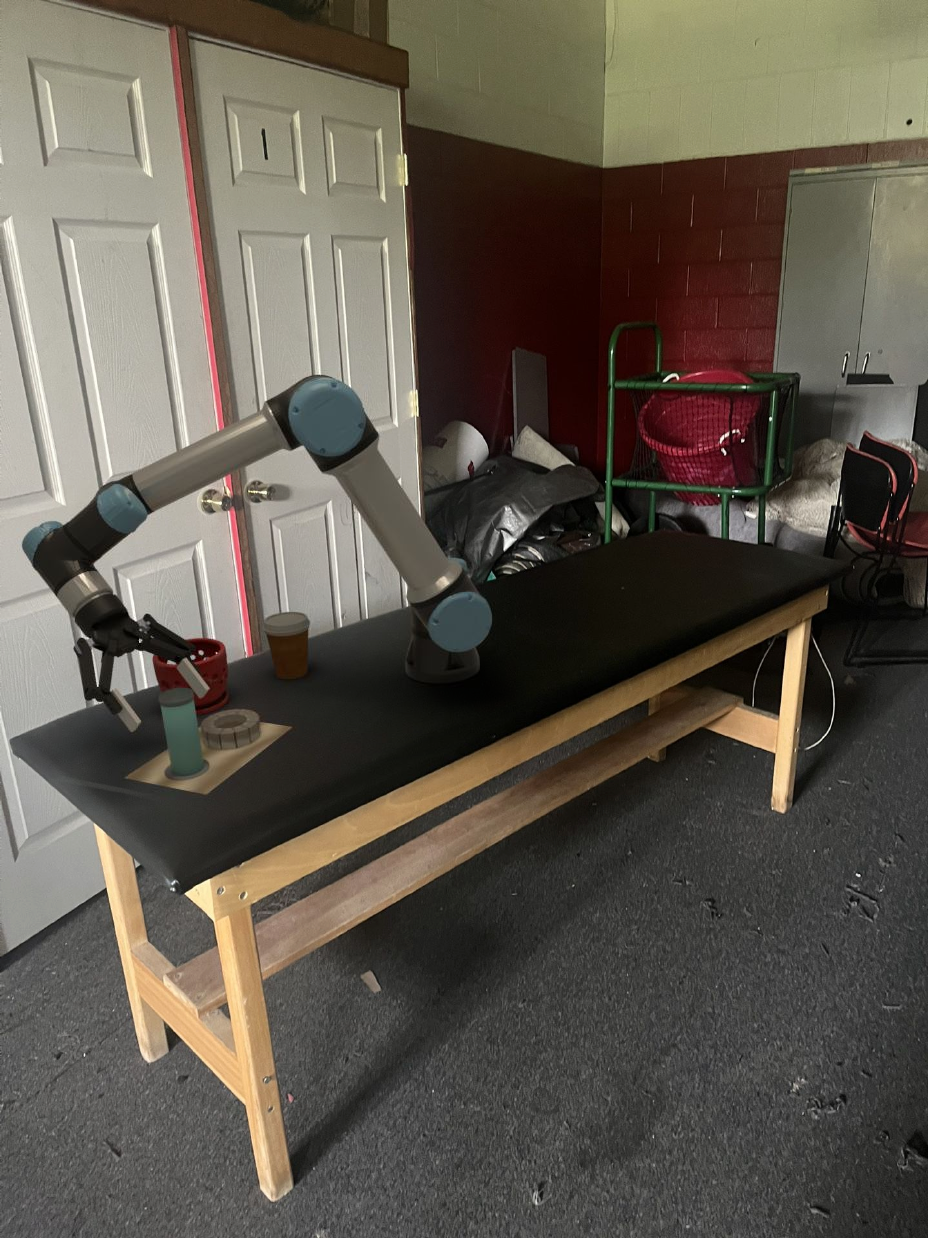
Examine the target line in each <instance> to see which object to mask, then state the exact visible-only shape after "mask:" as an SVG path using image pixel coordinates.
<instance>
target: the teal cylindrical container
mask: <svg viewBox="0 0 928 1238" xmlns="http://www.w3.org/2000/svg"><path fill="white" fill-rule="evenodd" d="M158 703H159V705H160V710H161V715H162V721H163V727H164V728H163V729H164V732H165V738H166V746H167V749H168V751H169V757H170V763H171V769H172V773H173V774H174V775H177V776H189V775H193V774H196V773H198V772H200V771H201V770H202V769H203V768H204V761H203V755H202V749H201V742H200V736H199V730H198V728H199V725H198V718H197V715H196V711H195V705H194V694H193V690H192V689H189V688H175V689H170V690H167V691H165V692H163V693H162V692H161V693H160V694H159V695H158Z"/></svg>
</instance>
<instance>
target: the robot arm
mask: <svg viewBox="0 0 928 1238" xmlns="http://www.w3.org/2000/svg"><path fill="white" fill-rule="evenodd" d="M363 405H364V404H363V402H362V400H361V398H360V397H359V395H358V394H357V392H356V391H355V390H354V389H353V388H352V387H350V386H349V385H348V384H346V383H345V382H343V381H341V380H339V379H336V378H335V377H332V376H329V375H326V374H310V375H309V376H306V377H303V378H301V379H300V380H299V381H297V382H295V383H294V384H292V385H291V386H290V387H288V388H287V389H285V390H284V391H281V392H280V393H278V394H277V395H275V396H273V397H270V398H269V399H267V400H265V401H264V402H263V405H262V408H261V410H258V411H257V412H254V413H252V414H250V415H248V416H246V417H244V418H242V419H240V420H238V421H236V422H234V423H232V424H230V425H227V426H226V427H223V428H221V429H220V430H218V431H215V432H214V433H211V434H209V435H208V436H205V437H203V438H201V439H199V440H197V441H195V442H193V443H191V444H188V445H187V446H185V447H182V448H181V449H179V450H177V451H175V452H173V453H170V454H169V455H167V456H164V457H162V458H161V459H159V460H157V461H154V462H152V463H150V464H149V465H146V466H144V467H143V468H140V469H138V470H137V471H134V472H132V473H130V474H128V475H126V476H123V478H120V479H118V480H112V481H109V482H107V483H105V484H104V485H102V486H101V487H100V488H99V489H98V490H97V491H96V492H95V495H94V497H93V498H92V500H90V501H89V502H88V504H87V505H86V506H85V507H84V508H83V509H82V510H80V511H79V512H78V513H77V514H76V515H74V517H72V518H71V519H70V520H69V521H67V522H66V523H64V524H62V522H60V521H57V520H49V521H45V522H42V523H41V524H39V525H38V526H34V527H33V528H31V529H30V530H29V531H28V532H27V533H26V534H25V536H24V538H23V540H22V542H21V548H22V549H21V550H22V551H23V553H24V554H25V556H26V558H27V559H28V561H29V562H30V564H31V567H32V568H33V569H34V570H35V571H36V573H38V575H39V576H40V577H41V579H42V580H43V581H44V583H45V584H46V585H47V586H48V588H49V589H50V590H51V592H53V595H55V597H56V599H57V600H59V601H58V602H60V603H61V605H62V606H63V608H64V609H65V611H66V612H67V613H68V614H69V615H70V617H71V618H73V619H74V623H75V624H76V626H77V627H78V628H79V630H80V631H81V632H82V634H83V635H84V636H85V637H86V638H85V637H79V638H78V639H77V640H76V641H75V642H76V643H75V644H74V646H73V648H72V649H73V651H74V653H75V655H76V657H77V658H78V661H79V662H78V664H79V668H80V669H79V670H80V675H81V684H82V691H83V696H84V697H83V698H84V699H85V701H88V702H90V701H92V700H95V701H96V702H97V703H103V704H104V705H105V707H106V708H107V709H108V711H109V712H110V713H111V714H112V715H113V716H115V715H118V716H119V718H120V720H121V721H122V722H123V723H124V724H125V726H126V728H127V729H128V730H129V731H130V733H132V732H135V731H136V730H137V728H138V727H139V726H140V724H141V723H142V720H141V719H140V718H139V716H138V715H137V714H136V712H135V711H134V709H133V708H132V706H131V705H130V704H129V703H128V701H127V699H125V698H124V696H123V695H122V693H121V692H120V691H119V690H118V688H117V687H116V688H114V689H112V690H111V687H112V679H113V670H114V662H115V658H120V657H123V656H124V655H125V654H130V653H133V652H134V651H139V652H145V653H149V654H152V655H157V656H159V657H162V658H164V659H167V660H168V661H170V662H173V663H175V664H176V663H177V664H179V665H178V667H177V669H178V671H179V672H180V673H181V675H182V676H183V677H184V679H185V680H186V681H187V682H188V684H189V685H190V686H191V688H192V689H193V690H194V692H195V693H196V694H197V696H198V697H199V698H202V697H204V695H205V694H206V693H207V692H208V690H209V689H210V688H209V687H208V685H207V684H206V683H205V682H204V680H203V679H202V678H201V676H200V675H199V674H200V670H199V668H198V667H197V666H196V664H195V663H194V662H193V659H192V658H191V656H193V655H192V653H193V652H194V651H195V649H196V647H195V646H194V645H193V644H191V643H190V642H188V641H187V640H186V638H183V637H182V636H180V635H179V634H177V633H175V632H174V631H172V630H170V629H169V628H167V627H166V626H164V625H163V624H161V623H159V622H158V621H157V620H156V619H155V618H154V617H153V616H152V615H151V614H150V613H145V614H144V615H143V616H142V618H139V619H138V620H134V619H133V618H132V617H131V615H130V614H129V613H130V612H129V611H128V608H126V606H125V604H124V603H123V602H122V600H121V599H120V598H119V597H118V595H116V594H115V593H114V590H113V588H112V587H111V586H110V585H109V583H108V582H107V580H106V579H105V578H104V577H103V576H102V574H101V573H100V572H99V570H98V569H97V568H96V566H95V565H94V564H95V563H96V562H97V561H99V560H101V558H103V556H104V555H106V554H107V553H108V552H109V551H111V550H112V549H113V548H115V547H116V546H117V545H118V544H119V543H121V542H122V541H123V540H124V539H125V538H127V537H128V536H130V535H131V534H133V533H135V532H136V531H137V529H138V528H139V527H140V526H141V525H142V524H143V523H144V522H145V521H146V520H147V519H148V516H150V514H153V513H155V512H156V511H158V510H160V509H162V508H164V507H167V506H168V505H171V504H173V503H175V502H177V501H179V500H182V499H183V498H185V497H187V496H189V495H191V494H193V493H194V492H198V491H199V490H201V489H204V488H206V487H207V486H209V485H211V484H213V483H215V482H218V481H220V480H221V479H224V478H226V477H228V476H230V475H232V474H234V473H237V471H241V470H242V469H244V468H246V467H248V466H250V465H252V464H254V463H256V462H258V461H261V460H263V459H264V458H265V459H266V457H269V456H271V455H273V454H274V453H275V454H276V453H277V452H279V451H281V450H285V451H288V452H292V451H294V450H297V449H298V448H300V447H302V446H303V447H304V449H305V450H306V451H307V453H308V455H309V456H310V458H311V459H312V461H313V462H314V464H315V466H316V467H317V468H318V469H319V471H320V472H321V473H322V474H323V475H328V476H333V477H335V479H336V480H337V483H339V485H340V487H341V488H342V490H343V491H344V493H346V495H347V497H348V498H349V500H350V501H351V502H352V503H351V504H352V505H353V506H354V507H355V509H356V510H357V512H358V513H359V515H360V516H361V518H362V520H363V521H364V522H365V524H366V525H367V527H368V528H369V530H370V531H371V532H372V534H373V535H374V537H375V539H376V540H377V542H378V544H379V545H380V546H381V549H383V551H384V552H385V554H386V555H387V557H388V559H389V560H390V561H391V563H392V564H393V566H394V567H395V569H396V571H397V572H398V573H399V575H400V576H401V578H402V579H403V581H404V582H405V584H406V585H407V591H406V594H405V595H406V596H405V598H406V601H407V602H408V603H409V609H410V625H411V626H410V627H411V637H410V641H409V645H408V649H407V653H406V657H405V659H404V660H405V662H404V665H405V673H406V675H407V676H408V677H409V678H410V679H412V680H415V681H417V682H421V683H425V684H435V685H436V684H451V683H457V682H460V681H466V680H467V679H471V678H472V677H474V676H475V675H477V673H478V672H479V671H480V670H481V669H480V666H481V664H480V655H479V653H478V650H477V647H478V645H480V644H481V643H482V642H483V641H484V640H485V639H486V638H487V636H488V634H489V632H490V630H491V627H492V623H493V615H492V611H491V607H490V605H489V602H488V601H487V599H486V598H484V597H483V596H482V594H480V592H479V591H478V589H477V587H476V586H475V585H474V583H473V582H472V580H471V578H470V577H469V575H468V573H469V569H468V566H467V565H468V564H467V562H466V561H465V560H464V559H462V558H458V557H447V556H446V555H445V553H444V551H443V550H442V548H441V547H440V545H439V543H438V542H437V540H436V538H435V537H434V536H433V534H432V532H431V531H430V530H429V528H428V526H427V524H426V523H425V522H424V520H423V517H421V515H420V513H419V512H418V510H417V509H416V507H415V506H414V504H413V503H412V501H411V500H410V498H409V496H408V495H407V493H406V492H405V490H404V488H403V487H402V485H401V483H400V482H399V481H398V478H397V477H396V476H395V474H394V472H393V471H392V469H391V468H390V467H389V465H388V463H387V462H386V460H385V459H384V457H383V455H382V454H381V452H380V451H379V448H378V446H379V441H380V437H381V436H380V434H379V432H378V431H377V429H376V427H375V426H374V424H373V423H372V421H371V419H370V418H369V416H368V414H367V413H366V411H365V408H364V407H363ZM140 640H141V641H140ZM93 649H95V650H98V651H100V652H101V659H100V660H101V661H100V663H101V664H100V665H101V666H100V672H99V680H98V682H97V676H96V670H95V664H94V656H93ZM97 683H98V684H97Z"/></svg>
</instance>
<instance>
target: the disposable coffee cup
mask: <svg viewBox="0 0 928 1238" xmlns="http://www.w3.org/2000/svg"><path fill="white" fill-rule="evenodd" d="M310 625H311V620H309V618H308V615H307V614H306V613H303V612H299V611H283V612H277V613H274V614H271V615H268V616H266V617H265V618H264V620H263V625H262V630H263V632H264V633H265V636H266V641H267V644H268V648H269V651H270V654H271V660H272V664H273V667H274V671H275V675H276V677H277V678H278V679H281V680H295V679H296V680H297V679H299V678H302V677H305V676H306V675H307V674H308V660H309V659H308V657H309V656H308V655H309V654H308V653H309V629H310Z"/></svg>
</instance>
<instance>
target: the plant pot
mask: <svg viewBox="0 0 928 1238" xmlns="http://www.w3.org/2000/svg"><path fill="white" fill-rule="evenodd" d="M185 640H187V641H188V642H190V643H191V644H193V645H194V646H195V647H196V649H195V651H194V652H193V653H192V655H191V656H193V657H194V659H192V660H193V662H194V663H195V664H196V666H197V667H198V668H199V670H200V674H199V675H200V676H201V678H202V679H203V680H204V682H205V683H206V684H207V685H208V687H209V688H210V689H209V690H208V692H207V693H206V694H205V695H204V697H202V698H199V697H198V696H197V694H196V693H195V692H194V690H193V689H192V688H191V686H190V685H189V684H188V682H187V681H186V680H185V679H184V677H183V676H182V675H181V673H180V672H179V671H178V669H177V667H178V665H179V664H177V663H175V664H174V663H173V664H172V663H169V662H168V661H169V660H167V659H164V658H162V657H159V656H157V655H154V654H152V663H153V664H152V666H153V670H154V673H155V674H154V675H155V677H156V682H157V684H158V687H159V689H160V691H161V693H163V692H165V691H167V690H170V689H175V688H189V689H192V690H193V694H194V705H195V711H196V716H200V715H205V714H208V713H209V714H210V713H211V712H212V713H213V712H214V711H218V710H219V709H221V708H223V707H224V706H225V705H226V704H227V702H228V700H229V699H230V697H229V692H228V690H227V689H226V686H227V683H228V677H229V666H228V655H227V650H226V649H227V648H226V646H225V644H224V643H223V642H221V641H220V640H217V639H214V638H208V637H207V638H206V637H199V638H198V637H195V638H188V639H186V638H185ZM200 651H202V652H203V654H200V653H199V652H200Z"/></svg>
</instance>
